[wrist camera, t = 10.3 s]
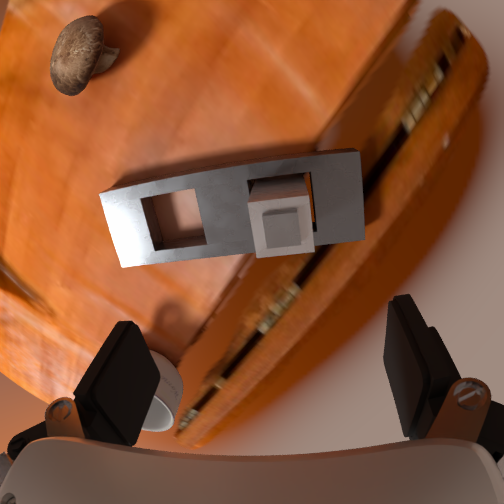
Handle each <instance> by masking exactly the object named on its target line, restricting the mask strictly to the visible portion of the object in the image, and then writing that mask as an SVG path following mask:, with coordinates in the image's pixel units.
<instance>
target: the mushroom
mask: <svg viewBox="0 0 504 504" xmlns="http://www.w3.org/2000/svg"><path fill="white" fill-rule="evenodd" d="M119 52H120V49H119V48H110V47H107V46H105V45H104V31H103V25H102V23H101V22H100V21H99V20H98V18H97V17H95V16H93V15H91V16H84V17H82V18H79V19H76V20H74V21H73V22H71V23H70V24H68V25H67V26H66V27H65V28H64V29H63V31H62V32H61V33H60V35H59V37H58V39H57V41H56V44H55V46H54V49H53V53H52V57H51V63H50V74H51V79H52V81H53V84H54V86H55V87H56V89H57V90H58V91H60V92H61V93H63V94H66V95H69V96H75V95H78V94H79V93H80V92H81V91H83V90H84V89H85V87H86V86H87V84H88V82H89V80H90V78H91V76H92V75H93V74H95V73H101V72H104V71H105V70H107V69H108V68H109V67H110V66H111V65H112V64H113V62H114V61H115V60H116V59H117V57H118V55H119Z"/></svg>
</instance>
